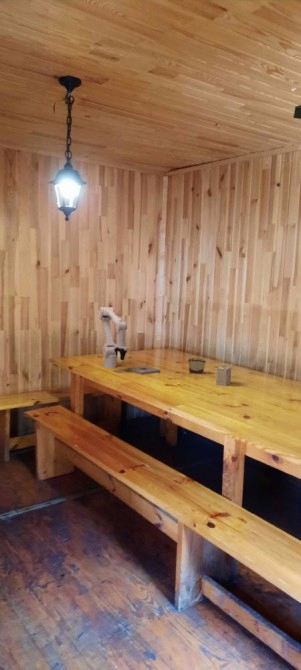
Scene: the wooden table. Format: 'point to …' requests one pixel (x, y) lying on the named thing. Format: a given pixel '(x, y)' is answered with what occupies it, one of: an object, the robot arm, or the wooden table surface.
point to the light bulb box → (223, 375)
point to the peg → (119, 357)
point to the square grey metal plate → (120, 371)
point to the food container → (196, 365)
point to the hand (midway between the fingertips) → (120, 359)
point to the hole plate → (144, 370)
